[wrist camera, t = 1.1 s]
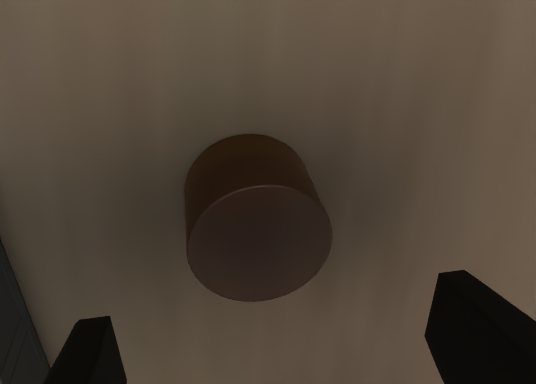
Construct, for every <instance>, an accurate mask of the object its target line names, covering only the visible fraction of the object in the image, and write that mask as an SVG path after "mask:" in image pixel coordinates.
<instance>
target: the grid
mask: <svg viewBox="0 0 536 384" xmlns="http://www.w3.org/2000/svg"><path fill="white" fill-rule="evenodd" d="M49 371H50V368H49V366H48V363H47V361H46V358H45V355H44V353H43V350H42V348H41V345H40V342H39V340H38V337H37V335H36V332H35V329H34V327H33V324H32V322H31V319H30V317H29V314H28V311H27V309H26V306H25V304H24V301H23V298H22V296H21V293H20V291H19V288H18V285H17V283H16V280H15V278H14V275H13V273H12V270H11V267H10V265H9V262H8V260H7V257H6V254H5V252H4V249H3V247H2V244H1V241H0V384H42V383H43V381H44V380H45V378H46V376H47V374H48V373H49Z"/></svg>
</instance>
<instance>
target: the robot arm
mask: <svg viewBox="0 0 536 384" xmlns="http://www.w3.org/2000/svg"><path fill="white" fill-rule="evenodd" d="M424 336H425V339H426V341H427V344H428V346H429V349H430V351H431V354H432V356H433V359H434V361H435V364H436V366H437V368H438V371H439V373H440V375H441V378H442V380H443V382H444V383H445V384H536V321H535V320H533V319H532V318H530V317H529V316H528V315H526V314H525V313H523V312H522V311H521V310H519V309H518V308H517V307H515V306H514V305H512V304H511V303H510V302H508V301H507V300H506V299H504V298H503V297H502V296H500V295H499V294H497V293H496V292H495V291H493V290H492V289H491V288H489V287H488V286H486V285H485V284H484V283H482V282H481V281H480V280H478V279H477V278H475V277H474V276H472V275H471V274H470V273H468V272H467V271H465V270H459V271H451V272H444V273H439V275H438V279H437V284H436V288H435V292H434V297H433V301H432V305H431V309H430V314H429V318H428V322H427V327H426V331H425V335H424ZM42 384H127V379H126V375H125V371H124V367H123V364H122V360H121V356H120V352H119V348H118V344H117V341H116V337H115V333H114V329H113V325H112V322H111V318H110V316H104V317H97V318H89V319H81V320H79V321H78V322H77V323H76V324H75V325H74V327H73V329H72V331H71V333H70V335H69V337H68V339H67V340H66V342H65V344H64V346H63V348H62V350H61V352H60V353H59V355H58V357H57V359H56V361H55V362H54V364H53V366H52V368H51V369H50V371H49V373H48V374H47V376H46V378H45V380H44V381H43V383H42Z"/></svg>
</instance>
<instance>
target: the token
mask: <svg viewBox="0 0 536 384" xmlns="http://www.w3.org/2000/svg"><path fill="white" fill-rule="evenodd" d="M184 199H185V222H186V246H187V258H188V263H189V265H190V268H191V270H192V272H193V273H194V275H195V276H196V278H197V279H198V280H199V281H200V282H201V283H202V284H203V285H204V286H205V287H206V288H207V289H209V290H211V291H212V292H214V293H216V294H218V295H220V296H222V297H225V298H228V299H232V300H237V301H245V302H256V301H265V300H271V299H275V298H278V297H281V296H284V295H286V294H289V293H291V292H293V291H295V290H297V289H298V288H300V287H302V286H303V285H304V284H306V283H307V282H308V281H310V280H311V279H312V278H313V277H314V276H315V275H316V274H317V273H318V271H319V270H320V269H321V268H322V266H323V264H324V263H325V261H326V259H327V257H328V255H329V252H330V249H331V244H332V227H331V222H330V219H329V217H328V214H327V212H326V210H325V208H324V206H323V204H322V202H321V200H320V198H319V196H318V193H317V191H316V189H315V187H314V185H313V183H312V181H311V179H310V177H309V174H308V172H307V170H306V168H305V166H304V164H303V162H302V161H301V159H300V158H299V156H298V155H297V154H296V153H295V152H294V151H293V150H292V149H291V148H290V147H288V146H287V145H286V144H284V143H282V142H280V141H278V140H276V139H273V138H270V137H266V136H261V135H241V136H235V137H231V138H228V139H225V140H223V141H220V142H218V143H216V144H215V145H213V146H211V147H210V148H209V149H207V150H206V151H205V152H204V153H202V154H201V155H200V156H199V157H198V159H197V160H196V161H195V162H194V164H193V165H192V167H191V169H190V170H189V173H188V175H187V178H186V182H185V188H184Z"/></svg>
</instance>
